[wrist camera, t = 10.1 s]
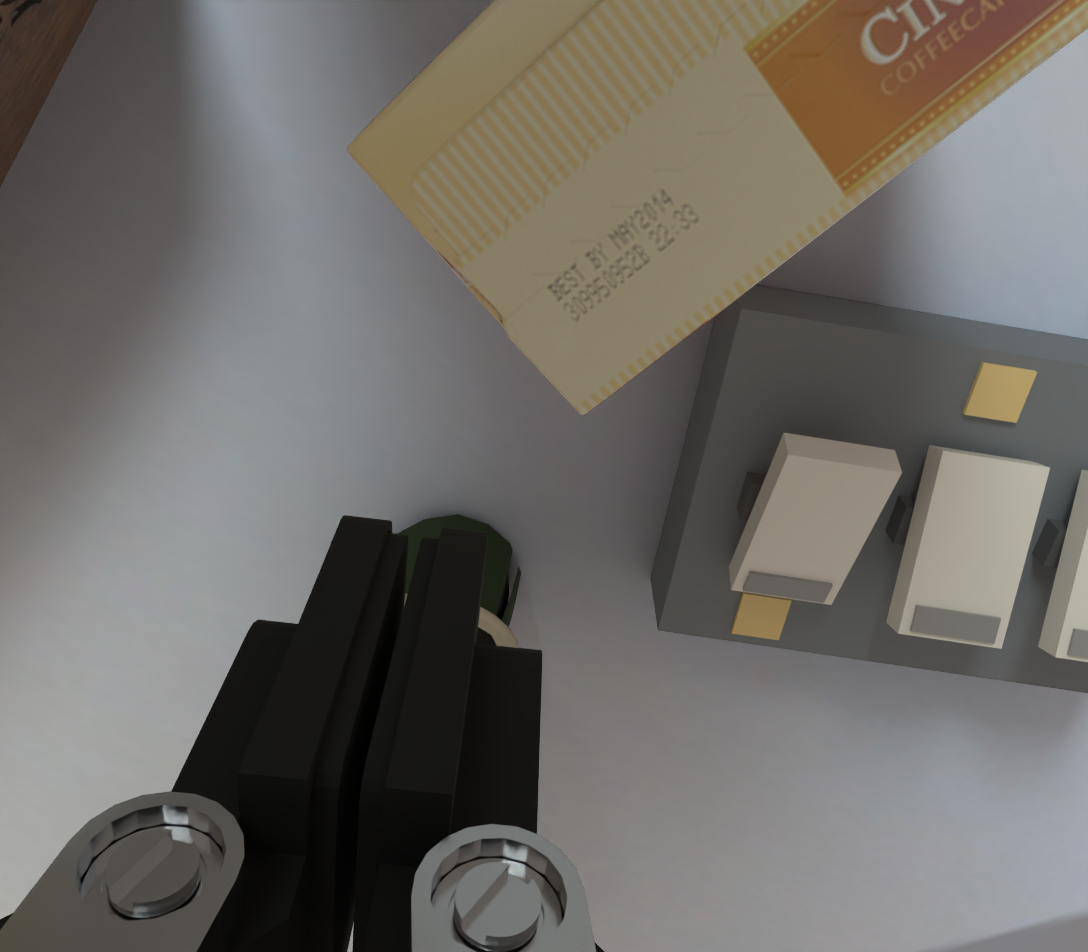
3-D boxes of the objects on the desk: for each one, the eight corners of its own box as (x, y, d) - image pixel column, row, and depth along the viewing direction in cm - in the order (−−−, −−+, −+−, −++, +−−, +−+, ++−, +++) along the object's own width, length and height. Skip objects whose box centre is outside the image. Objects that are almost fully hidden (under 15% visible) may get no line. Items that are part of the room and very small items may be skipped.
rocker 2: (929, 444, 35) (944, 451, 34) (1032, 461, 36) (1052, 468, 34) (886, 622, 37) (899, 635, 35) (986, 637, 37) (1003, 650, 36)
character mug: (561, 643, 45) (559, 865, 34) (421, 677, 46) (372, 903, 35) (487, 442, 41) (455, 618, 29) (333, 485, 42) (243, 672, 30)
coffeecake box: (573, 227, 37) (578, 431, 19) (447, 74, 34) (322, 146, 17) (917, -62, 32) (1335, -141, 15) (799, -261, 30) (1128, -640, 12)
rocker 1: (783, 432, 33) (788, 457, 32) (894, 450, 33) (903, 475, 32) (728, 567, 38) (731, 592, 37) (826, 581, 38) (832, 607, 37)
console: (724, 279, 37) (746, 316, 33) (1211, 360, 38) (1296, 406, 34) (650, 578, 43) (660, 644, 39) (1071, 641, 44) (1127, 712, 40)
